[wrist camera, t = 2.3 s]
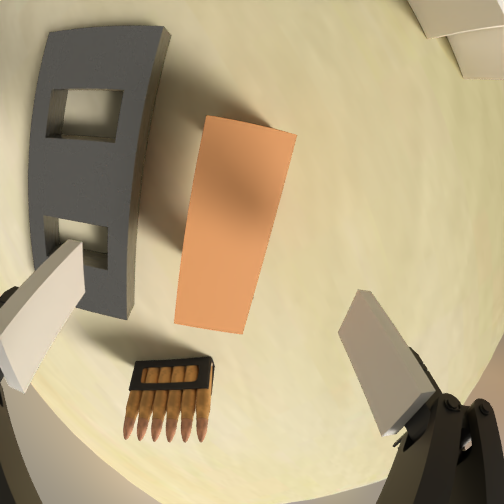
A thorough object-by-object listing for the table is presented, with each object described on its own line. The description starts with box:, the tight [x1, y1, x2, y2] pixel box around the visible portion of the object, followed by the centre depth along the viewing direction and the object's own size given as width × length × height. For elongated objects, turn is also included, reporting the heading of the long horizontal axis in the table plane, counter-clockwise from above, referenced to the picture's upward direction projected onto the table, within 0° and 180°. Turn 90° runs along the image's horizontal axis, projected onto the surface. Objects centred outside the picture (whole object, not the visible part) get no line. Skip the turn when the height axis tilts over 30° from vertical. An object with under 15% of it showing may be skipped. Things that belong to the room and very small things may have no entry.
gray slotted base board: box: [28, 26, 171, 320], centre depth 23 cm, size 28×12×3 cm, turn 167°
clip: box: [174, 115, 297, 334], centre depth 22 cm, size 14×5×10 cm, turn 167°
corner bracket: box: [407, 0, 504, 80], centre depth 13 cm, size 11×11×12 cm
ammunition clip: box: [123, 357, 215, 442], centre depth 30 cm, size 11×2×12 cm, turn 97°
